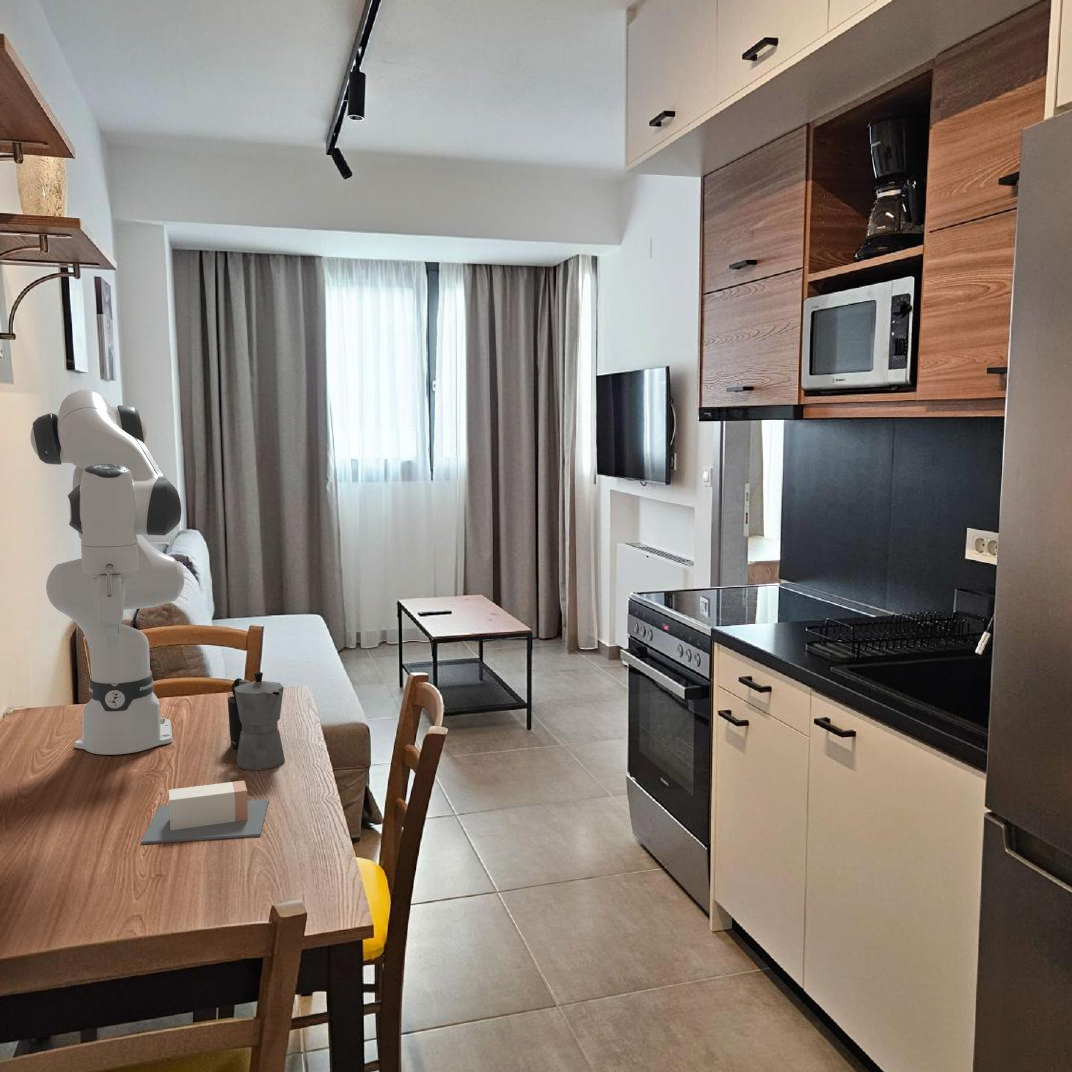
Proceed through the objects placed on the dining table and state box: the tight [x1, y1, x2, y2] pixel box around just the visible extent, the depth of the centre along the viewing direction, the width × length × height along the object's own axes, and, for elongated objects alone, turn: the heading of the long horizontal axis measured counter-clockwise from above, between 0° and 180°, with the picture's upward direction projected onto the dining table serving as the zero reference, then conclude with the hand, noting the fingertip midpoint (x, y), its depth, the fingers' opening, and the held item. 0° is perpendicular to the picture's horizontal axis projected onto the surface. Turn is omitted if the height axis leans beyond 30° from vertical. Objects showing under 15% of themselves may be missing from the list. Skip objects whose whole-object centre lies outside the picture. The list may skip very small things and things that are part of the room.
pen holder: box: [227, 695, 242, 751], centre depth 201 cm, size 9×9×10 cm
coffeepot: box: [231, 671, 286, 771], centre depth 191 cm, size 15×9×18 cm, turn 50°
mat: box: [140, 798, 270, 845], centre depth 162 cm, size 15×18×1 cm
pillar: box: [168, 780, 248, 830], centre depth 161 cm, size 5×5×12 cm
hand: (113, 640), depth 168 cm, fingers open, 8 cm apart
